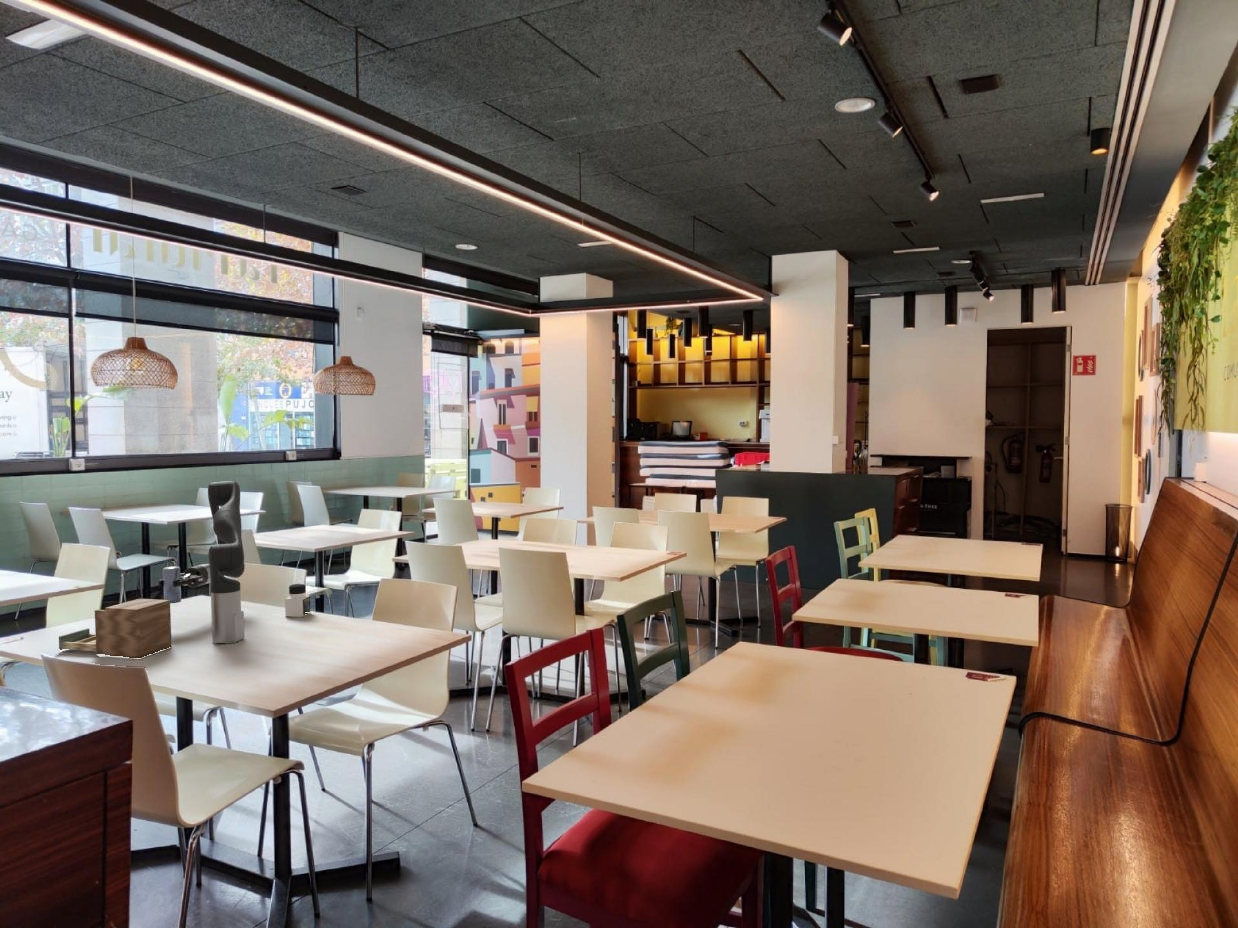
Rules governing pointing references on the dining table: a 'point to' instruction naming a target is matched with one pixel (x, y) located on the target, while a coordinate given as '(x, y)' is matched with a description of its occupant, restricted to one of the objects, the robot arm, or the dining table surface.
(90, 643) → the wooden drawer
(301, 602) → the medicine bottle
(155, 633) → the walnut box
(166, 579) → the can
